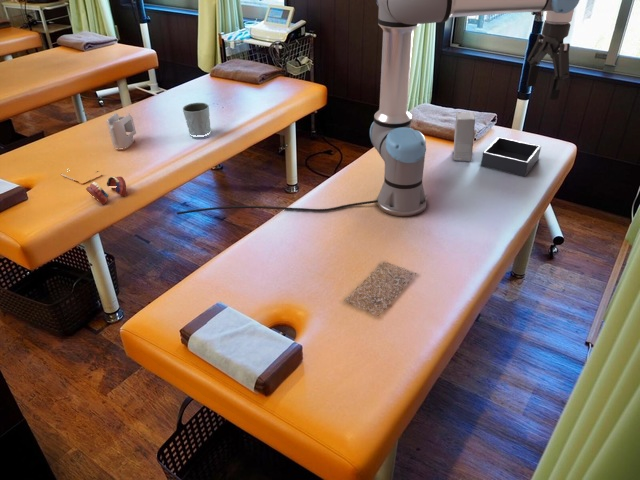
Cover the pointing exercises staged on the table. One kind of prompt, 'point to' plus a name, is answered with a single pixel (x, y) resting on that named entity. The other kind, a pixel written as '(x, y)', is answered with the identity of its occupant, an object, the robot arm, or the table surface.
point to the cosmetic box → (464, 136)
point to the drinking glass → (197, 119)
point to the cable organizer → (121, 130)
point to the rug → (381, 288)
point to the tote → (511, 156)
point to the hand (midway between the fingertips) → (541, 92)
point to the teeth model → (113, 181)
